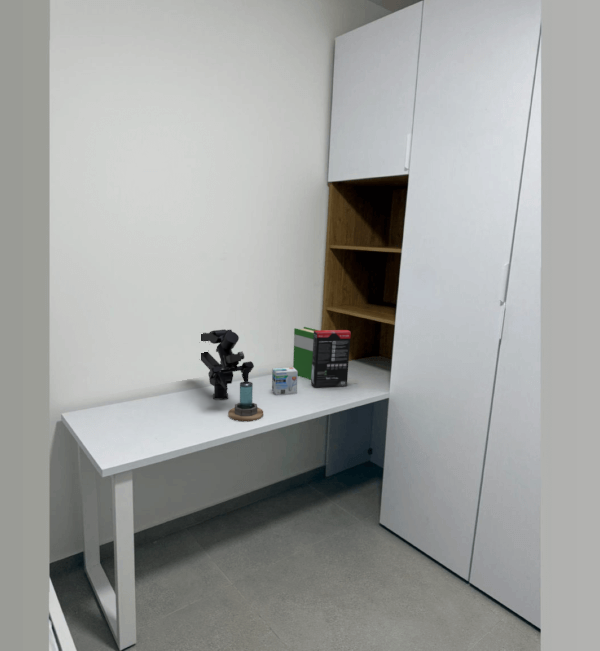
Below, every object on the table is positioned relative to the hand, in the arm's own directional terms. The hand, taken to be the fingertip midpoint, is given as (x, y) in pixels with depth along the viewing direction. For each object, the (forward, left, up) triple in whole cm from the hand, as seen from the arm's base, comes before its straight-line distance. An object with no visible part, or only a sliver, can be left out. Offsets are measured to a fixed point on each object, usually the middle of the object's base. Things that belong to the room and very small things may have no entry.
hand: (237, 387), depth 207 cm
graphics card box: (-28, +45, -9) cm, 54 cm away
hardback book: (-43, +38, -9) cm, 58 cm away
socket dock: (+7, +3, -9) cm, 12 cm away
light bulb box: (-20, +22, -9) cm, 31 cm away
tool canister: (+7, +3, -8) cm, 11 cm away
